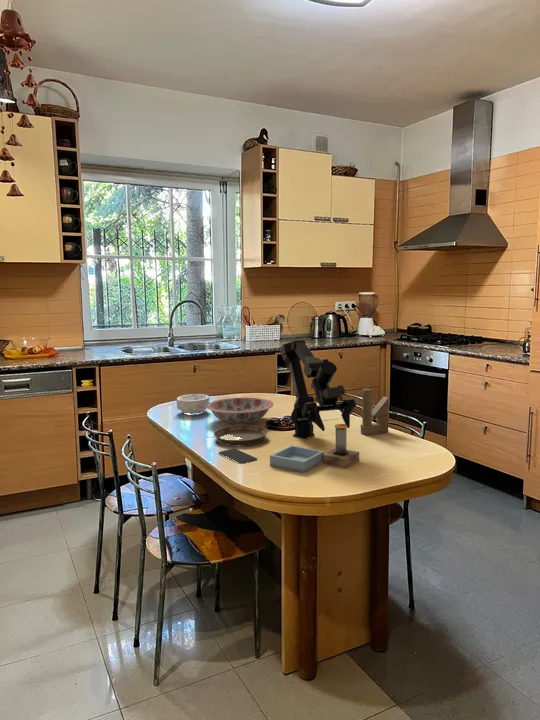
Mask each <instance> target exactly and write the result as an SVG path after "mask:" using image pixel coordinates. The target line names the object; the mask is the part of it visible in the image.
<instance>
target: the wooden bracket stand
mask: <svg viewBox="0 0 540 720" xmlns="http://www.w3.org/2000/svg"><path fill="white" fill-rule="evenodd" d="M389 399H390V397H387V396H382V397H381V399H380V400H379V401H378V403H377V404H376V405H375V406H374V407H372V406H373V390H372V389H371V388H363V389H362V418H361V419H362V424H360V434H362V435H364V436H371V435H375V434H376V435H377V434H385V433H386V432H387V433H389V414H390V413H389V411H390V409H389V406H390V405H389V403H390V401H389ZM373 417H374V418H375V417H376V418H375V419H376V420H375V421H376V422H375V423H373Z"/></svg>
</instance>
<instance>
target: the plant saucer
mask: <svg viewBox="0 0 540 720" xmlns="http://www.w3.org/2000/svg"><path fill="white" fill-rule="evenodd" d="M227 434H228V435H229V434H230V435H233V437H234V436H235V437H240V438H242V439H239V440H225V439H221V438H220V437H221V436H224V435H227ZM213 435H214V438H215V439H216V440H217V441H218V442H220V443H221V444H223V443H224V444H223V445H226V444H229V445H228V446H231V445H246V446H251V444H252V445H255V443H256V444H258V442H259V443H261V442H262V441H263V440H264V439H265V438H266V436H267V435H268V429H266V428H264V427H262V426H258V425H254V424H253V425H251V424H235V425H231V426H230V425H229V426H226V427H225V426H224V427H221V428H219V429H217V430H216V431H214V434H213Z"/></svg>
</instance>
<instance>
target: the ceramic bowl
mask: <svg viewBox="0 0 540 720" xmlns="http://www.w3.org/2000/svg"><path fill="white" fill-rule="evenodd" d="M206 407H207V408H206V410H209V411H211V413H212V415H213V416H214V417H216V419H218V420H220V421H221V422H224V423H227V424H232V425H233V424H235V425H246V424H251V423H254V422H257V421H259V420H261V419H262V418H263V417H264V416H265V415H266V414H267V412H269V410H270V409H271V408H273V407H274V402H273V401H271V400H269V399H266V398H260V397H250V396H249V397H248V396H247V397H241V396H240V397H227V398H221V399H216V400H213V401H209V403H208V404H207V406H206Z"/></svg>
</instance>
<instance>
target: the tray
mask: <svg viewBox="0 0 540 720" xmlns="http://www.w3.org/2000/svg"><path fill="white" fill-rule="evenodd" d="M323 454H325V451H324V450H318V449H313V448H309V447H302V446H297V445H289V446H287V447H284V448H283V449H281V450H278V451H276V452H274V453H272V454H269V466H271V467H275V468H281V469H284V470H289V471H293V472H298V473H302V474H304V473H306V472H308V471H310V470H312V469H313V468H315V467H317V466H318V465H320V464H323Z"/></svg>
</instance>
